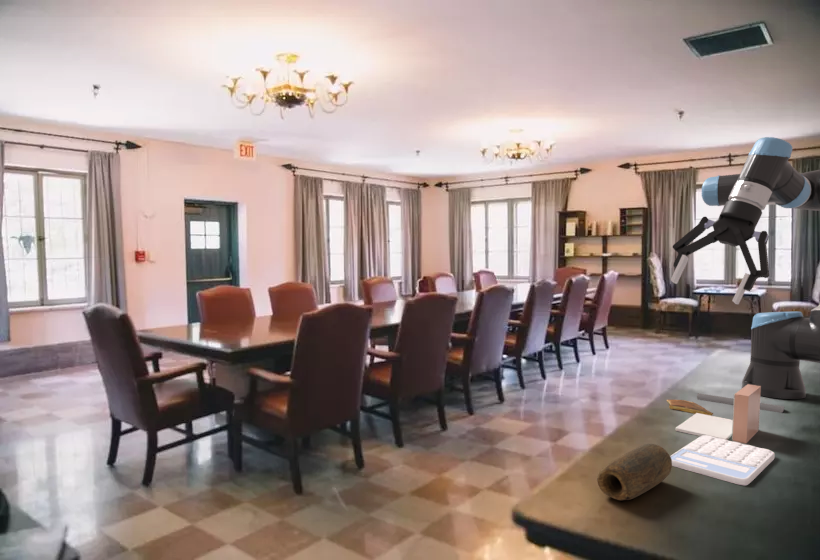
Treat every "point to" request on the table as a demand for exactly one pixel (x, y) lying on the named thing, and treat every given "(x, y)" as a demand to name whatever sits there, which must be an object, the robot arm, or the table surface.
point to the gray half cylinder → (730, 401)
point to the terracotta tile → (746, 413)
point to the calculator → (723, 459)
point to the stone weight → (635, 472)
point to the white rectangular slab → (707, 426)
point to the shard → (688, 407)
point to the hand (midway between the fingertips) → (703, 292)
